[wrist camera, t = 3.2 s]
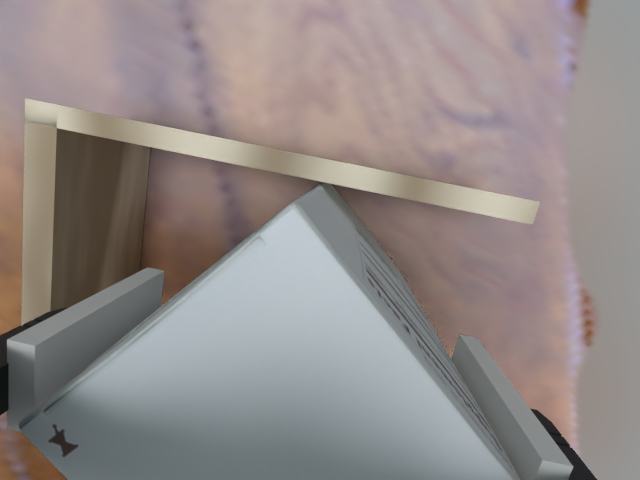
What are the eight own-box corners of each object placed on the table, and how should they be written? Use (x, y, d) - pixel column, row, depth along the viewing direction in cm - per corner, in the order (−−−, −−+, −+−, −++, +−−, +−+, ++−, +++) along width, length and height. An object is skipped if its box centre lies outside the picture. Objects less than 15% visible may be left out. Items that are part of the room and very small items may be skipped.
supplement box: (304, 355, 26) (239, 674, 10) (223, 260, 25) (-6, 437, 9) (411, 280, 25) (550, 512, 8) (328, 174, 23) (294, 193, 7)
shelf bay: (114, 325, 27) (20, 391, 19) (130, 120, 24) (25, 98, 16) (415, 390, 26) (446, 485, 18) (473, 190, 23) (540, 202, 15)
